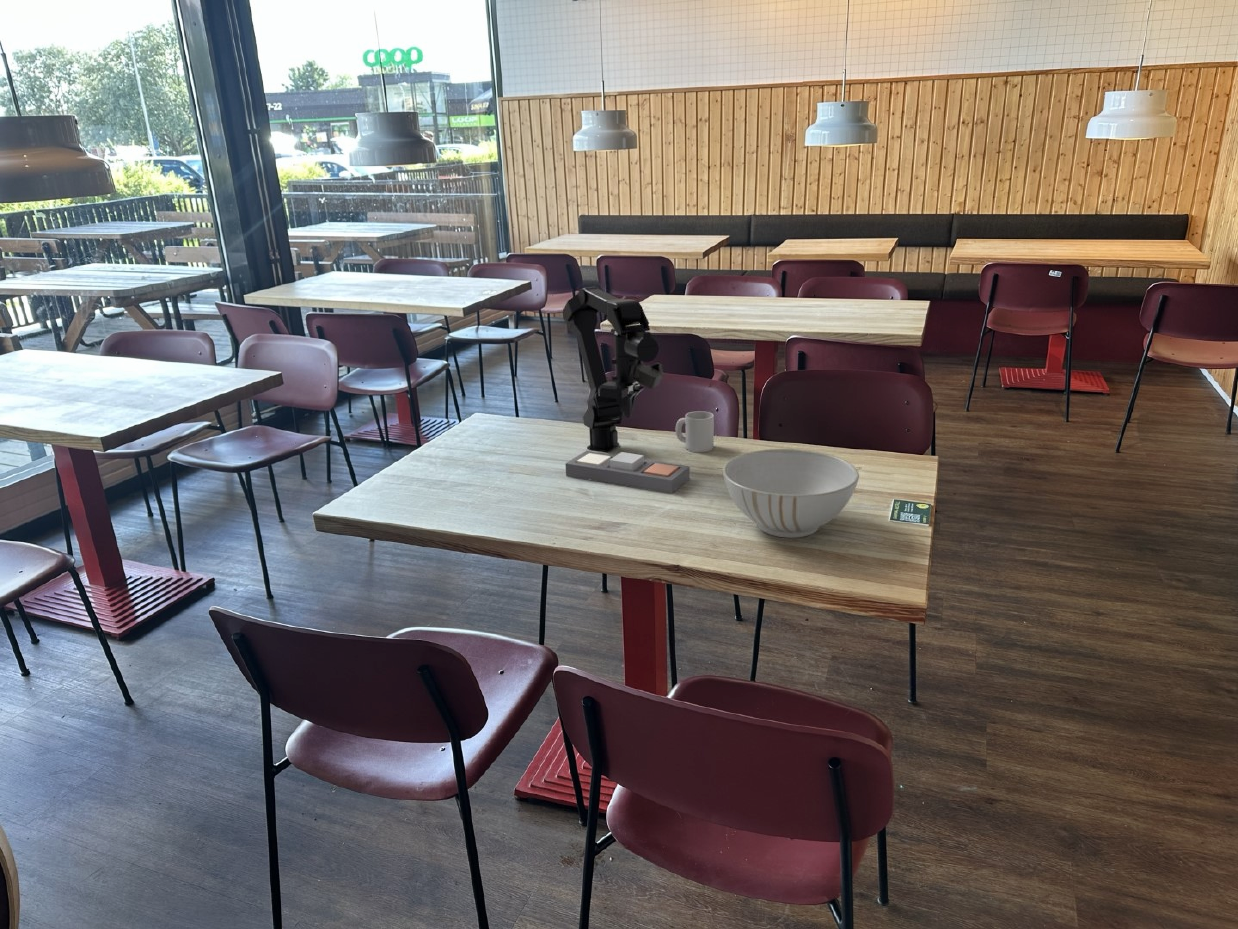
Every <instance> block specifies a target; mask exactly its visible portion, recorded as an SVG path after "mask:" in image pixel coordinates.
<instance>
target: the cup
mask: <svg viewBox="0 0 1238 929" xmlns="http://www.w3.org/2000/svg"><path fill="white" fill-rule="evenodd" d="M714 416H715V415H714V413H712V412H710V411H700V410H697V411H690V412H687V413H686V414H685V417H681V418H679V419H678V420H677V422H676V424H675V435H676V437H677V440H679V441H680V442H681V443H684V444H685V449H686V450H687V449H688V450H689V452H691V451H693V452H692V453H698V452H701V453H707V452H710V451H712V450H713V448H714V440H715V439H714V438H715V437H714V433H715V432H714V431H715V430H714V427H715V425H714V422H715V421H714V418H715V417H714ZM683 425H685V427H684V429H685V434H684V435H683V432H682V429H683V428H682V427H683ZM688 450H687V451H688Z"/></svg>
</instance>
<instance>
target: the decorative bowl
mask: <svg viewBox="0 0 1238 929" xmlns="http://www.w3.org/2000/svg"><path fill="white" fill-rule="evenodd" d="M722 476H723V480H724V483H725V484H724V485H725V486H726V489H727V491H728V493H729V495H730V498H731V499H732V501H733V502H734V504H735V505H736V507H737V508H738V509H739V510H740V511H741V513H742V514H743V515H745V517H747V518H748V519H750V521H752V522H753V523H755V524H757V527H758V528H759V529H760V530H761V531H762V532H764V533H765V534H768V535H771V536H774V537H778V538H779V537H780V538H788V539H789V538H790V539H794V538H795V539H796V538H802V537H807V536H810V535H813V534H814V533H815V532H817V531H818V530H819V528H820V527H823V526H824V525H825V524H827V523H829V522H830V521H832V520H833V519H834V518H836V517H837V516H838V515H839V514H840V513H841V512H842V510H843V509H844V508H845V507H846V506H847V504H848V503H849V502H850V500H851V498H852V496H853V495H854V492H855V490H856V488H857V486H858V483H859V479H860V473H859V471H858V469H857V468H856V466H855V465H853V464H852V463H850V462H849V461H848V460H846V459H843V458H842V457H839V456H835V455H834V454H829V453H825V452H820V451H815V450H810V449H800V448H772V449H770V448H769V449H761V450H755V451H749V452H746V453H743V454H740V455H737V456H734V457H732V458H731V459H730V460H728V461H727V462H726V463H725V464H724V465H723V467H722Z"/></svg>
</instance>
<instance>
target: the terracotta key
mask: <svg viewBox="0 0 1238 929" xmlns="http://www.w3.org/2000/svg"><path fill="white" fill-rule="evenodd" d="M677 470H678V466H671V465H665V464H658V463H655V464H653V465H652V466H651V467H649V468H648V469H646V470H645V471H644V473H645V474H651V475H657V476H664V477H670V476H671V475H672V474H673V473H675V472H676V471H677Z"/></svg>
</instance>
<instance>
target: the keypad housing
mask: <svg viewBox="0 0 1238 929" xmlns="http://www.w3.org/2000/svg"><path fill="white" fill-rule="evenodd" d="M589 453H592V454H598V455H605V456H611V459H612V458H613V457H615V456H616V455H617V454H610V453H606V452H605V453H603V452H600V451H590V450H585V451H583V452H582V453H580V454H579V455H577V456H575V457H573V458H571V460H569V461H567V462H565V476H566V477H571V478H576V479H582V480H588V479H591V480H590V481H594V480H596V481H595V482H600V481H601V483H606V482H607V483H608V484H612V485H613V484H614V485H620V486H624V485H627V486H626V487H629V486H631V488H637V489H643V490H649V491H654V492H660V493H666V494H667V493H668V494H671V495H672V494H673V493H674V492H676V491H677V490H678V489H680V488H681V487H682V486H683V485H685V484H686V483H687V482H688V481H690V480H691V477H690V475H691V473H690V472H691V471H690V470H691V469H690V468H691V466H690V465H685V464H679V463H678V464H677V463H670V462H664V461H657V460H652V459H651V460H650V459H646V458H644V465H643V466H642V467H640V468H639V469H637V470H636V471H635V472H632V471H626V470H620V469H613V468H610V461H608V462H606V463H605V464H603V465H602V466H594V465H588V464H582V463H577V460H579V459H581V458H582V457H584V456H585V455H587V454H589ZM655 463H658V464H665V465H671V466H678V470H677V471H676V472H675V473H673V474H672V475H671V476H670V477H664V476H657V475H651V474H645V473H644V471H645V470H646V469H648V468H649V467H651V466H652V465H653V464H655ZM607 483H606V484H607Z"/></svg>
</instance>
